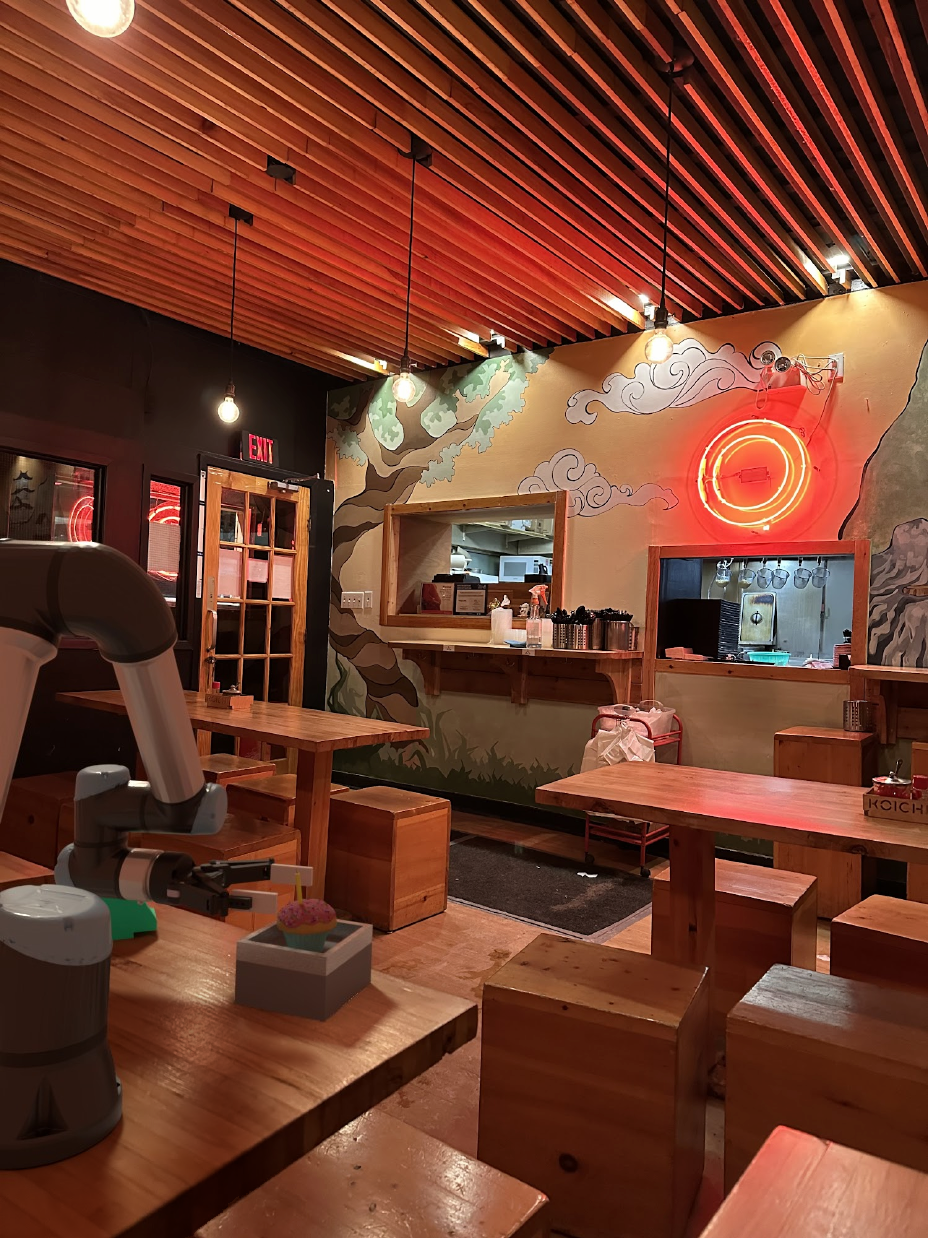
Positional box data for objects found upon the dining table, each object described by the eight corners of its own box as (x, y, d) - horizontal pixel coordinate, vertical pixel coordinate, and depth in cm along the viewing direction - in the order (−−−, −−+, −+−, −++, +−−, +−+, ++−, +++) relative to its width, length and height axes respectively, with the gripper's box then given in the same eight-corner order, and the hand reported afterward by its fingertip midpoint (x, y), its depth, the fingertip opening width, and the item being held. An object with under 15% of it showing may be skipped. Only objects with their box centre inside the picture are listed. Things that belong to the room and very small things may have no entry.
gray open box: (324, 1022, 112) (326, 976, 113) (234, 1003, 117) (236, 960, 117) (370, 982, 126) (372, 942, 126) (288, 967, 130) (289, 928, 130)
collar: (326, 976, 113) (326, 957, 113) (236, 960, 117) (236, 941, 117) (372, 942, 126) (372, 924, 126) (289, 928, 130) (290, 912, 131)
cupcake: (296, 966, 116) (299, 878, 116) (263, 948, 122) (266, 864, 122) (347, 952, 122) (350, 867, 122) (313, 935, 128) (316, 855, 128)
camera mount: (153, 922, 149) (155, 863, 150) (156, 936, 142) (158, 874, 143) (78, 930, 144) (80, 869, 145) (77, 945, 138) (80, 881, 138)
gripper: (199, 879, 138) (323, 891, 135) (109, 930, 114) (258, 946, 110) (201, 832, 139) (325, 843, 135) (111, 874, 114) (260, 888, 110)
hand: (295, 889), depth 122 cm, fingers open, 13 cm apart
